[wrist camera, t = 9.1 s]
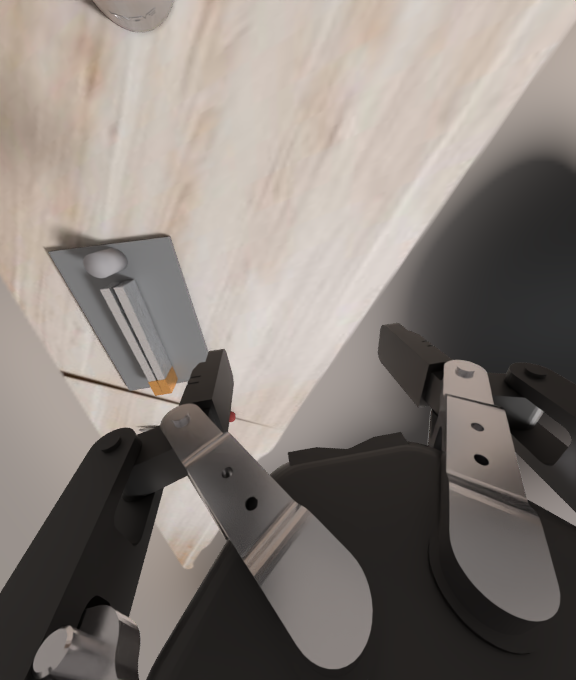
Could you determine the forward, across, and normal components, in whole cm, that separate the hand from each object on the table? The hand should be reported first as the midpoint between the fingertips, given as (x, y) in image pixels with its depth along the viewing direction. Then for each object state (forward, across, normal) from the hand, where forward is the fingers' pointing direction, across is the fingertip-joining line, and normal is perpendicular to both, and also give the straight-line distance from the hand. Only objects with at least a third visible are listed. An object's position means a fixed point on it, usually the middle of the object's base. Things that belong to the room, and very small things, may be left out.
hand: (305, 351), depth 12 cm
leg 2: (+27, +21, +10) cm, 36 cm away
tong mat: (+28, +22, +8) cm, 37 cm away
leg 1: (+27, +23, +10) cm, 37 cm away
